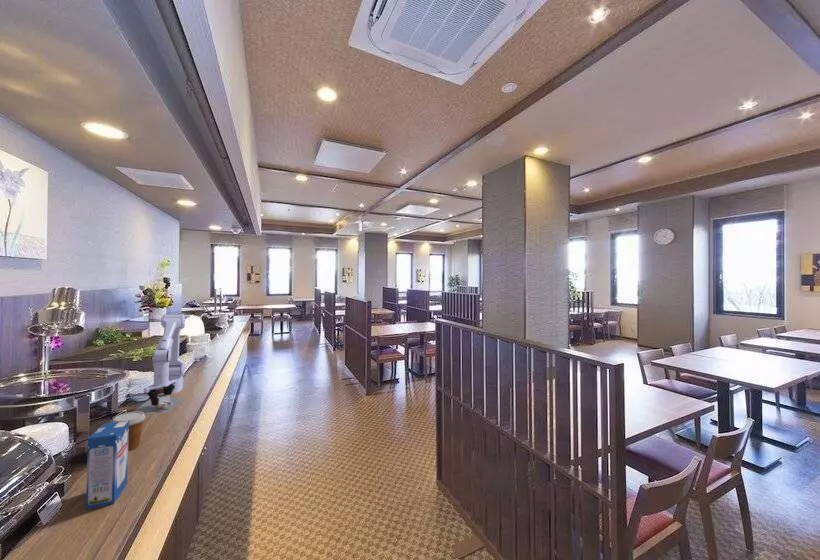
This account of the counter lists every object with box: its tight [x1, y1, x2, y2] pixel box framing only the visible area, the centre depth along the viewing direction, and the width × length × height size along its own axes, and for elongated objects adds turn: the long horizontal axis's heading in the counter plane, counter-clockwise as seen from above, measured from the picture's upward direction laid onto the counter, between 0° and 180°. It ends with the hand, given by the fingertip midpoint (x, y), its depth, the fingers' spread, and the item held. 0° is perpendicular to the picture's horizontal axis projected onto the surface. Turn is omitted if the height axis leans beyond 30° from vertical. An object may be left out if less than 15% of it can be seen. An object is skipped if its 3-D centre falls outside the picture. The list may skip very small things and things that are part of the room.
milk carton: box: [85, 421, 129, 510], centre depth 98 cm, size 10×6×20 cm, turn 24°
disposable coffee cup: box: [111, 411, 146, 452], centre depth 125 cm, size 10×10×12 cm
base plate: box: [132, 396, 186, 415], centre depth 161 cm, size 20×16×5 cm
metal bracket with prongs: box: [151, 392, 173, 407], centre depth 158 cm, size 8×5×4 cm, turn 73°
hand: (160, 402), depth 158 cm, fingers closed on metal bracket with prongs, 5 cm apart
